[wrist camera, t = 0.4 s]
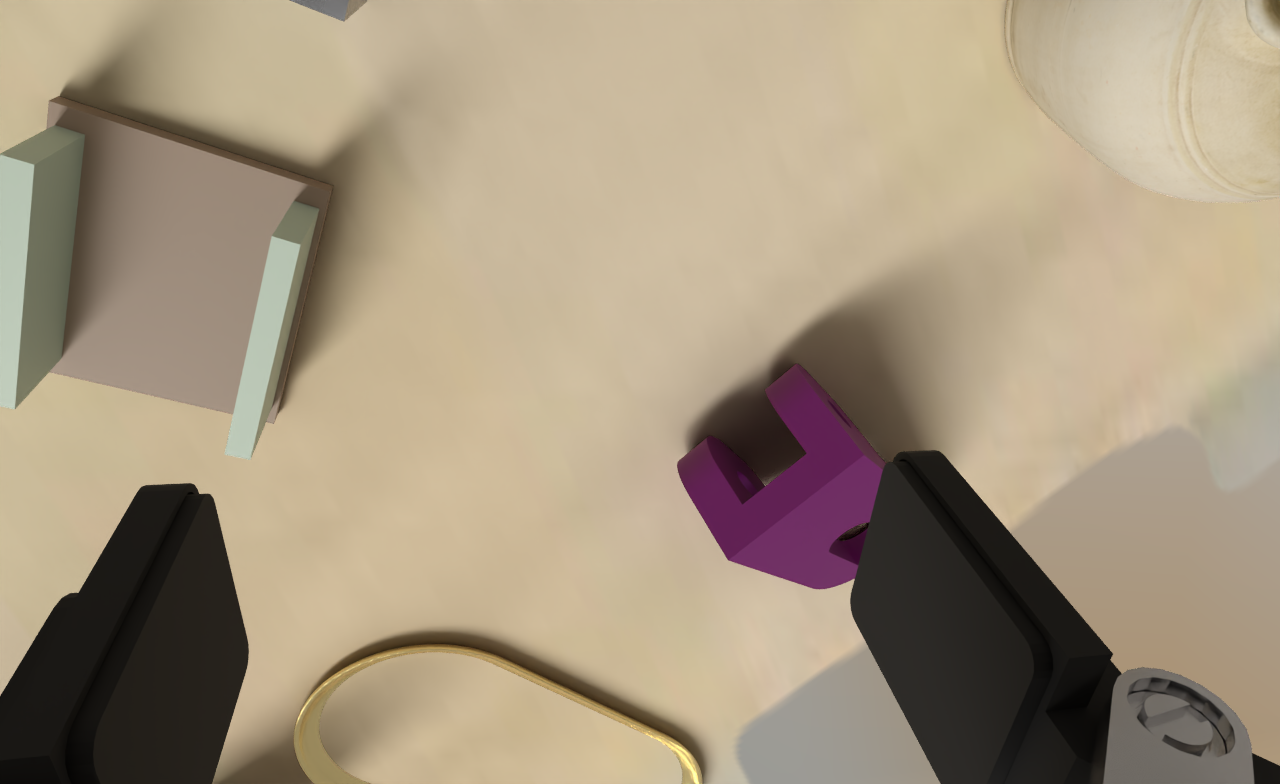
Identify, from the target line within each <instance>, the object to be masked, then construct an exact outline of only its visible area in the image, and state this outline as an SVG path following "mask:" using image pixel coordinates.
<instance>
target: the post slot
mask: <svg viewBox="0 0 1280 784" xmlns="http://www.w3.org/2000/svg"><path fill="white" fill-rule="evenodd" d="M332 189H333V186H332V185H329V184H326V183H323V182H320V181H317V180H314V179H311V178H307V177H304V176H301V175H298V174H295V173H292V172H289V171H286V170H283V169H280V168H277V167H274V166H271V165H268V164H265V163H262V162H259V161H255V160H252V159H249V158H246V157H243V156H240V155H237V154H234V153H231V152H228V151H225V150H222V149H219V148H216V147H213V146H210V145H206V144H203V143H200V142H197V141H194V140H191V139H188V138H185V137H182V136H179V135H176V134H173V133H170V132H167V131H164V130H161V129H157V128H154V127H151V126H148V125H145V124H142V123H139V122H136V121H133V120H130V119H127V118H124V117H121V116H118V115H115V114H112V113H109V112H105V111H102V110H99V109H96V108H93V107H90V106H87V105H84V104H81V103H78V102H75V101H72V100H69V99H66V98H63V97H60V96H58V97H56V98H54V99H52V100H50V101H49V106H48V117H47V129H46V130H44V131H43V132H41V133H39V134H37V135H35V136H33V137H31V138H29V139H27V140H26V141H24V142H22V143H20V144H18V145H16V146H14V147H12V148H10V149H9V150H7V151H5V152H3V153H1V154H0V406H1V407H6V408H11V409H16V408H17V406H18V405H19V404H20V403H21V402H22V401H23V400H24V399H25V398H26V397H27V395H28V394H29V393H30V392H31V391H32V390H33V389H34V388H35V387H36V386H37V385H38V383H39V382H40V381H41V380H42V379H43V378H44V377H45V376H46V375H47V374H48V373H49V372H51V373H55V374H60V375H64V376H68V377H73V378H77V379H81V380H86V381H90V382H94V383H99V384H103V385H107V386H112V387H116V388H120V389H125V390H129V391H133V392H138V393H142V394H146V395H151V396H155V397H160V398H164V399H168V400H173V401H177V402H181V403H186V404H190V405H194V406H199V407H203V408H207V409H212V410H216V411H220V412H225V413H229V414H233V418H232V422H231V427H230V432H229V436H228V441H227V446H226V450H225V455H230V456H234V457H239V458H244V459H248V460H250V459H251V457H252V455H253V452H254V450H255V447H256V445H257V442H258V440H259V438H260V435H261V433H262V430H263V428H264V425H265V423H266V422H268V423H273V424H274V422H275V420H276V417H277V415H278V411H279V407H280V403H281V399H282V395H283V390H284V386H285V382H286V378H287V374H288V370H289V366H290V362H291V358H292V354H293V349H294V345H295V341H296V337H297V333H298V329H299V325H300V321H301V317H302V312H303V308H304V304H305V300H306V296H307V292H308V288H309V284H310V280H311V276H312V271H313V267H314V263H315V259H316V255H317V251H318V247H319V243H320V239H321V235H322V230H323V226H324V222H325V218H326V214H327V210H328V206H329V202H330V198H331V193H332Z"/></svg>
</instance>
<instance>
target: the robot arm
mask: <svg viewBox="0 0 1280 784" xmlns="http://www.w3.org/2000/svg"><path fill="white" fill-rule="evenodd" d="M850 604H851V611H852V615H853V618H854V620H855V622H856V624H857V626H858V628H859V630H860V632H861V634H862V636H863V637H864V639H865V641H866V643H867V645H868V647H869V649H870V651H871V653H872V655H873V656H874V658H875V660H876V662H877V664H878V666H879V668H880V670H881V672H882V673H883V675H884V677H885V679H886V681H887V683H888V685H889V687H890V688H891V690H892V692H893V694H894V696H895V698H896V700H897V702H898V704H899V705H900V707H901V709H902V711H903V713H904V715H905V717H906V719H907V721H908V723H909V725H910V726H911V728H912V730H913V732H914V734H915V736H916V738H917V740H918V742H919V744H920V745H921V747H922V749H923V751H924V753H925V755H926V757H927V759H928V760H929V762H930V764H931V766H932V768H933V770H934V772H935V774H936V776H937V778H938V780H939V781H940V783H941V784H1280V766H1279V765H1277V764H1275V763H1272V762H1270V761H1268V760H1266V759H1264V758H1262V757H1259V756H1257V755H1255V754H1253V753H1252V748H1251V743H1250V739H1249V735H1248V732H1247V729H1246V728H1245V726H1244V725H1243V724H1242V722H1241V720H1240V719H1239V717H1238V716H1237V715H1236V713H1235V712H1234V711H1233V710H1232V709H1231V708H1230V707H1229V706H1228V705H1227V704H1226V703H1224V701H1222V700H1221V699H1220V698H1219V697H1218V696H1216V695H1215V694H1213V693H1212V692H1210V691H1209V690H1207V689H1206V688H1205V687H1203V686H1202V685H1200V684H1198V683H1196V682H1194V681H1192V680H1190V679H1188V678H1185V677H1183V676H1181V675H1178V674H1175V673H1172V672H1169V671H1165V670H1161V669H1154V668H1137V669H1131V670H1127V671H1126V672H1124V673H1123V674H1121V672H1120V671H1119V670H1118V669H1117V668H1116V667H1115V665H1114V664H1113V663H1112V662H1111V660H1110V659H1111V657H1112V655H1113V653H1112V652H1111V651H1110V650H1109V649H1108V647H1107V646H1106V645H1105V644H1104V643H1103V641H1101V639H1100V638H1099V637H1098V636H1097V634H1096V633H1095V632H1094V631H1093V630H1092V629H1091V627H1090V626H1089V625H1088V624H1087V623H1086V622H1085V620H1084V619H1083V618H1082V617H1081V616H1080V614H1079V613H1078V612H1077V611H1076V610H1075V609H1074V608H1073V606H1072V605H1071V604H1070V603H1069V602H1068V600H1067V599H1066V598H1065V597H1064V596H1063V594H1062V593H1061V592H1060V591H1059V590H1058V589H1057V587H1056V586H1055V585H1054V584H1053V583H1052V582H1051V580H1050V579H1049V578H1048V577H1047V576H1046V575H1045V573H1044V572H1043V571H1042V570H1041V569H1040V567H1039V566H1038V565H1037V564H1036V563H1035V562H1034V560H1033V559H1032V558H1031V557H1030V556H1029V555H1028V553H1027V552H1026V551H1025V550H1024V549H1023V548H1022V546H1021V545H1020V544H1019V543H1018V542H1017V541H1016V539H1015V538H1014V537H1013V536H1012V535H1011V533H1010V532H1009V531H1008V530H1007V529H1006V527H1005V526H1004V525H1003V524H1002V523H1001V522H1000V520H999V519H998V518H997V517H996V516H995V515H994V513H993V512H992V511H991V510H990V509H989V508H988V506H987V505H986V504H985V503H984V502H983V500H982V499H981V498H980V497H979V496H978V495H977V493H976V492H975V491H974V490H973V489H972V488H971V486H970V485H969V484H968V483H967V482H966V480H965V479H964V478H963V477H962V476H961V475H960V473H959V472H958V471H957V470H956V469H955V468H954V466H953V465H952V464H951V463H950V462H949V460H948V459H947V458H946V457H945V456H944V455H943V454H942V453H941V452H940V451H935V450H931V451H908V452H900V453H898V454H897V455H896V457H895V458H894V461H893V462H888V463H887V464H886V465H885V466H884V468H883V471H882V475H881V479H880V483H879V487H878V491H877V495H876V498H875V502H874V506H873V510H872V514H871V518H870V522H869V526H868V530H867V534H866V538H865V542H864V545H863V549H862V553H861V557H860V561H859V565H858V569H857V573H856V577H855V581H854V585H853V588H852V592H851V598H850ZM248 654H249V649H248V640H247V635H246V631H245V627H244V623H243V619H242V615H241V610H240V606H239V602H238V598H237V594H236V590H235V585H234V581H233V577H232V573H231V569H230V564H229V560H228V556H227V552H226V548H225V544H224V539H223V535H222V531H221V527H220V523H219V518H218V514H217V510H216V506H215V502H214V499H213V497H212V496H211V495H210V494H199V492H198V489H197V488H196V486H195V485H194V484H191V483H186V484H164V485H145V486H143V487H141V488H140V489H139V491H138V492H137V494H136V495H135V497H134V499H133V500H132V502H131V504H130V506H129V507H128V509H127V511H126V512H125V514H124V516H123V518H122V519H121V521H120V523H119V524H118V526H117V528H116V530H115V531H114V533H113V535H112V536H111V538H110V540H109V542H108V543H107V545H106V547H105V548H104V550H103V552H102V554H101V555H100V557H99V559H98V560H97V562H96V564H95V566H94V567H93V569H92V571H91V572H90V574H89V576H88V578H87V579H86V581H85V583H84V584H83V586H82V588H81V590H80V591H79V593H70V594H68V595H66V596H64V597H63V598H61V600H60V601H59V602H58V603H57V605H56V606H55V607H54V608H53V610H52V612H51V613H50V615H49V617H48V618H47V620H46V622H45V623H44V625H43V627H42V628H41V630H40V631H39V633H38V635H37V636H36V638H35V640H34V641H33V643H32V645H31V646H30V648H29V650H28V651H27V653H26V655H25V656H24V658H23V660H22V661H21V663H20V664H19V666H18V668H17V669H16V671H15V673H14V674H13V676H12V678H11V679H10V681H9V683H8V684H7V686H6V688H5V689H4V691H3V692H2V694H1V696H0V784H212V782H213V778H214V775H215V772H216V768H217V765H218V762H219V759H220V755H221V752H222V749H223V745H224V742H225V739H226V736H227V732H228V729H229V726H230V722H231V719H232V716H233V713H234V709H235V706H236V703H237V699H238V696H239V693H240V690H241V686H242V683H243V680H244V676H245V673H246V669H247V665H248Z"/></svg>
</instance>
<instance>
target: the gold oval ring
mask: <svg viewBox="0 0 1280 784" xmlns="http://www.w3.org/2000/svg"><path fill="white" fill-rule="evenodd" d="M425 652H446V653H456V654H463V655H467V656H472V657H476V658H479V659H482V660H485V661H487V662H490V663H492V664H495V665H497V666H499V667H501V668H503V669H505V670H508V671H510V672H512V673H514V674H516V675H518V676H521V677H523V678H525V679H527V680H529V681H531V682H534V683H536V684H538V685H540V686H542V687H544V688H547V689H549V690H551V691H553V692H555V693H557V694H560V695H562V696H564V697H566V698H568V699H570V700H573V701H575V702H577V703H579V704H581V705H583V706H586V707H588V708H590V709H592V710H594V711H596V712H599V713H601V714H603V715H605V716H607V717H609V718H612V719H614V720H616V721H618V722H620V723H622V724H625V725H627V726H629V727H631V728H633V729H635V730H638V731H640V732H642V733H644V734H646V735H648V736H651V737H653V738H655V739H657V740H659V741H660V742H662V743H663V744H665V745H666V746H668V747H669V748H670V749H671V750H672V751H673V752H674V754H675V755H676V756H677V758H678V760H679V762H680V764H681V768H682V784H703V781H702V774H701V770H700V767H699V765H698V762H697V761H696V759H695V757H694V756H693V755H692V754H691V752H690V751H689V750H688V749H687V748H686V747H684V746H683V745H682V744H681V743H679V742H678V741H677V740H675V739H673V738H672V737H670V736H668V735H666V734H664V733H662V732H660V731H658V730H655V729H653V728H651V727H649V726H647V725H645V724H643V723H641V722H638V721H636V720H634V719H632V718H630V717H628V716H626V715H624V714H621V713H619V712H617V711H615V710H613V709H611V708H609V707H606V706H604V705H602V704H600V703H598V702H596V701H594V700H592V699H589V698H587V697H585V696H583V695H581V694H579V693H577V692H575V691H572V690H570V689H568V688H566V687H564V686H562V685H560V684H557V683H555V682H553V681H551V680H549V679H547V678H545V677H543V676H540V675H538V674H536V673H534V672H532V671H530V670H528V669H526V668H523V667H521V666H519V665H517V664H515V663H513V662H511V661H508V660H506V659H504V658H502V657H500V656H497V655H495V654H492V653H489V652H486V651H483V650H479V649H475V648H470V647H465V646H458V645H447V644H424V645H413V646H405V647H400V648H395V649H390V650H386V651H383V652H379V653H376V654H373V655H371V656H368V657H365V658H363V659H361V660H358V661H356V662H354V663H352V664H350V665H348V666H347V667H345V668H343V669H342V670H340V671H338V672H337V673H335V674H334V675H332V676H331V677H330V678H329V679H327V680H326V681H325V682H324V683H322V684H321V685H320V686H319V687H318V688H317V689H316V690H315V691H314V692H313V693H312V695H311V696H310V697H309V698H308V700H307V701H306V703H305V704H304V706H303V707H302V709H301V711H300V713H299V715H298V718H297V721H296V724H295V729H294V749H295V754H296V757H297V760H298V762H299V764H300V766H301V768H302V770H303V771H304V773H305V774H306V775H307V777H308V778H309V779H310V780H311V781H312V782H313V783H314V784H370V783H367V782H365V781H362V780H360V779H358V778H356V777H354V776H352V775H350V774H349V773H347V772H346V771H344V770H343V769H342V768H340V767H339V766H338V765H337V764H336V763H335V762H334V761H333V760H332V759H331V758H330V757H329V755H328V754H327V752H326V751H325V749H324V747H323V744H322V742H321V738H320V733H319V721H320V716H321V713H322V710H323V707H324V705H325V703H326V701H327V700H328V698H329V697H330V696H331V694H332V693H333V692H334V691H335V690H336V688H337V687H339V686H340V685H341V684H342V683H343V682H344V681H345V680H347V679H348V678H349V677H351V676H352V675H354V674H355V673H357V672H358V671H360V670H362V669H364V668H366V667H368V666H370V665H373V664H375V663H378V662H380V661H383V660H386V659H390V658H393V657H397V656H402V655H407V654H414V653H425ZM686 757H687V758H686Z"/></svg>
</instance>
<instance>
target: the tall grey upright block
mask: <svg viewBox="0 0 1280 784" xmlns="http://www.w3.org/2000/svg"><path fill="white" fill-rule="evenodd" d="M290 1H293V2H295V3H298V4H300V5H303V6H306V7H308V8H311V9H313V10H316V11H318V12H321V13H323V14H326V15H329V16H331V17H334V18H336V19H339V20H341V21H345V20H346V19H348V18H349V17H350V16H351V15H352V14H353V13H354V12H355V11H357V10H358V9H359V8H360V7H361V6H362V5H363V4H365V3H366V0H290Z"/></svg>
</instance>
